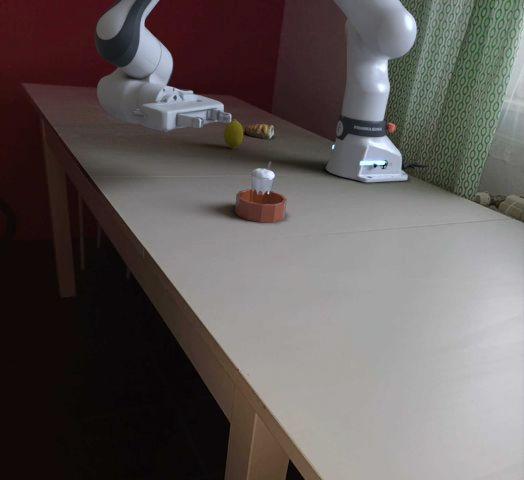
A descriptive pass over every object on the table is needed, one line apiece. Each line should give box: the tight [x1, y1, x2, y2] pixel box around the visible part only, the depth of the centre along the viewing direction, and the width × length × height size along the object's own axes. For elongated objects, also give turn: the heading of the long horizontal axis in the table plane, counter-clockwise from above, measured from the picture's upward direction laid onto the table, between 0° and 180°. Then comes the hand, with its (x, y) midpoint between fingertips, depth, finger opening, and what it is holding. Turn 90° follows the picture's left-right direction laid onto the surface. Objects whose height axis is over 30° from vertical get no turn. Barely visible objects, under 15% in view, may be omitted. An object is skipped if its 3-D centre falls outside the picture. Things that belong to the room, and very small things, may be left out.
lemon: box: [223, 118, 244, 150], centre depth 154 cm, size 6×6×8 cm
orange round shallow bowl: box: [234, 188, 288, 223], centre depth 110 cm, size 10×10×4 cm
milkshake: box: [251, 161, 276, 204], centre depth 108 cm, size 4×5×10 cm
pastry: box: [244, 123, 275, 140], centre depth 173 cm, size 9×7×4 cm
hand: (216, 121), depth 107 cm, fingers open, 8 cm apart
